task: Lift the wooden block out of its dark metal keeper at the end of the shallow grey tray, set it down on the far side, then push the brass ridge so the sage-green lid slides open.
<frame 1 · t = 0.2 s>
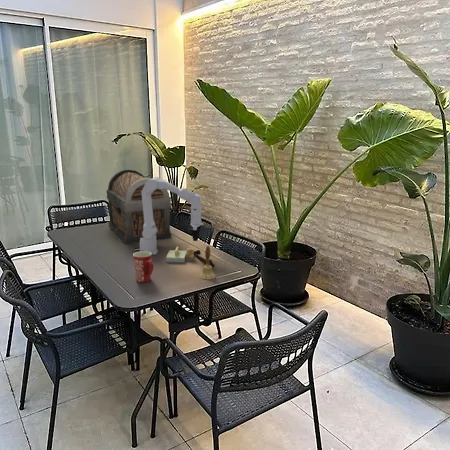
hand: (195, 238, 238), 10 cm above the table, tool pointing down, fingers open, 7 cm apart
hand bell: (207, 277, 210), on the table
wooden block: (190, 259, 234), on the table
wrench: (204, 262, 232), on the table
lid: (176, 252, 233), point 4 cm above the table, slide at 0.0 cm
shallow grey tray: (176, 259, 234), on the table
mug: (145, 281, 204), on the table
keeper: (190, 259, 234), on the table
treasure chest: (139, 232, 284), on the table
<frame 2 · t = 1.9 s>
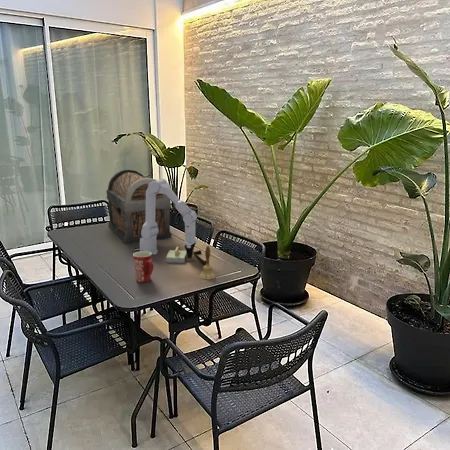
hand: (190, 256, 233), 2 cm above the table, tool pointing down, fingers closed on wooden block, 3 cm apart
wooden block: (190, 259, 234), on the table, touching gripper
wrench: (203, 262, 231), on the table
everything else where it was.
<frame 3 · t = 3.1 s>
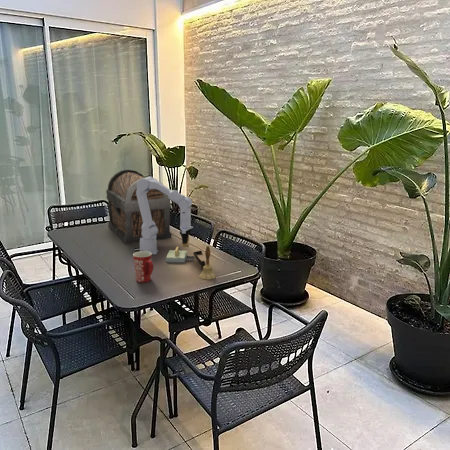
hand: (185, 242, 235), 9 cm above the table, tool pointing down, fingers closed on wooden block, 3 cm apart
wooden block: (185, 246, 236), point 6 cm above the table, touching gripper
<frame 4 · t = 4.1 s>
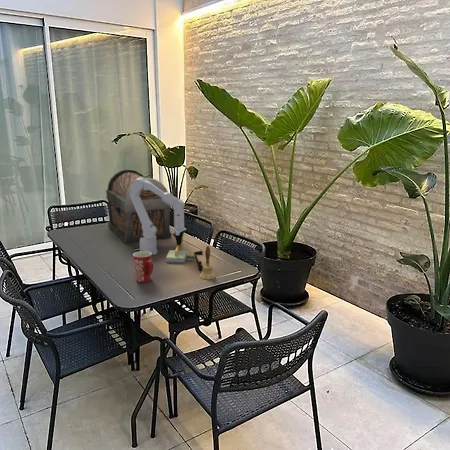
hand: (179, 243, 242), 6 cm above the table, tool pointing down, fingers closed on wooden block, 3 cm apart
wooden block: (179, 247, 243), point 3 cm above the table, touching gripper
when the fingers open (3 cm above the table, at t = 5.0 s): wooden block stays where it is, on the table.
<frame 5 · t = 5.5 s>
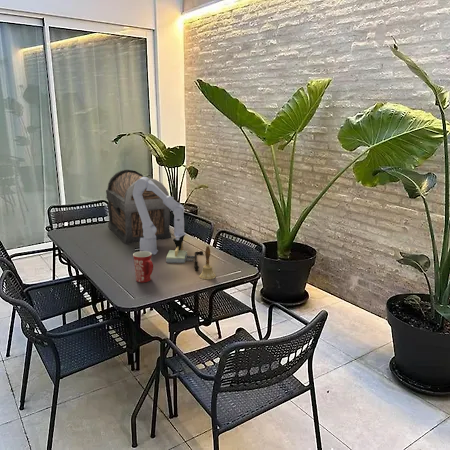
hand: (179, 248, 243), 3 cm above the table, tool pointing down, fingers open, 7 cm apart
wooden block: (179, 253, 244), on the table
lid: (176, 252, 233), point 4 cm above the table, slide at 0.0 cm, touching gripper
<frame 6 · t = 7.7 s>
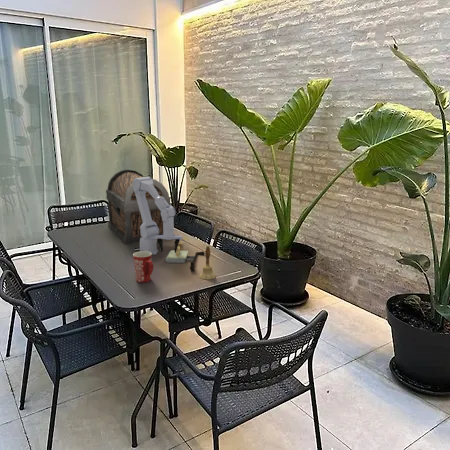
hand: (168, 251, 233), 4 cm above the table, tool pointing down, fingers open, 7 cm apart
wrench: (197, 264, 229), on the table
lid: (178, 252, 233), point 4 cm above the table, slide at 0.7 cm, touching gripper
everything else where it was.
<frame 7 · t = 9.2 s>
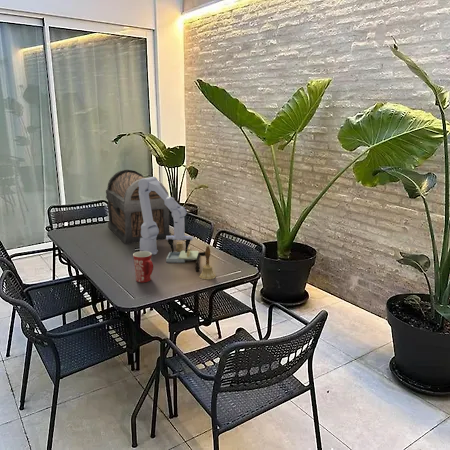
hand: (179, 252, 233), 4 cm above the table, tool pointing down, fingers open, 7 cm apart
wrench: (201, 264, 228), on the table
lid: (188, 252, 233), point 4 cm above the table, slide at 6.7 cm, touching gripper
everything else where it was.
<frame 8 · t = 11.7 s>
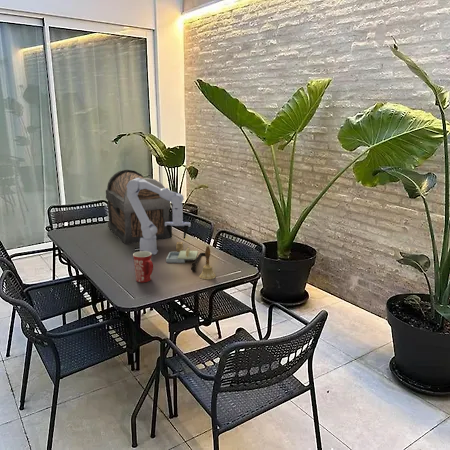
hand: (177, 238, 239), 10 cm above the table, tool pointing down, fingers open, 7 cm apart
lid: (187, 252, 233), point 4 cm above the table, slide at 6.2 cm
at the end: wooden block inside the target area (0.2 cm from its centre), on the table; lid slide at 6.2 cm; the gripper is holding nothing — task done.
